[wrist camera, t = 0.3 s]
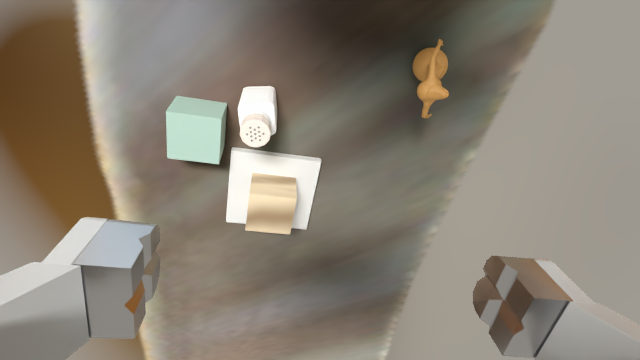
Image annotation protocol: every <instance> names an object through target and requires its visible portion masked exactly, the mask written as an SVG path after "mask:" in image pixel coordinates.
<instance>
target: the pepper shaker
mask: <svg viewBox="0 0 640 360" xmlns="http://www.w3.org/2000/svg"><path fill="white" fill-rule="evenodd" d="M238 116H239V124H240V136H241V139H242V141H243V142H244V143H246V144H247V145H248V146H251V147H260V146H264V145H265V144H266V143H267V142H268V141H269V140H270V136H272V135H273V134H275V133H276V128H277V102H276V90H275V89H274V87H271V86H259V87H246V88H243V92H242V95H241V99H240V102H239V106H238Z"/></svg>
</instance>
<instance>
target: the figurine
mask: <svg viewBox="0 0 640 360" xmlns="http://www.w3.org/2000/svg"><path fill="white" fill-rule="evenodd" d="M442 43H443V42H442V39H441V40H440V39H439V40H438V44H437V46H436V47H435V48H434V47H430V48H426V49H423V50H422V51H420V52H419V53H418V54H417V55H416V57H415V59H414V61H413V72H414V74H415V76H416V77H417V78H418V79H419V80H420V81H422V82H421V83H420V84H419V86H418V88H417V95H418V97H419V98H420V99H421V100H422V101H423V104H424V106H423V110H422V118H426V119H427V118H429V117H430V116H431V115H432V114H430V115H428V114H427V113H428V111H429V107H430V106H431V104H432V103H433V102H434V101H435V100H439V99H445V98H447V97H448V96H449V93H448V91H447V90H446V89H445V88H443V87H442V83H441V81H440V79H441V78H442V77H443V76H444V75H445V73H446V71H447V68H448V59H447V57H446V55H445V53H444V52H443V51H441V50H440V47H441V45H442V46H444V45H443V44H442Z"/></svg>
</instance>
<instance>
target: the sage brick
mask: <svg viewBox="0 0 640 360" xmlns="http://www.w3.org/2000/svg"><path fill="white" fill-rule="evenodd" d="M226 114H227V103H222V102H216V101H209V100H202V99H195V98H188V97H182V96H176V98H175V99H174V101H173V102H172V103H171V105H170V106H169V108H168V109H167V111H166V127H167V158H171V159H179V160H187V161H195V162H204V163H212V164H219V163H220V159H221V156H222V153H223V149H224V146H225V130H226Z"/></svg>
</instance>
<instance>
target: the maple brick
mask: <svg viewBox="0 0 640 360" xmlns="http://www.w3.org/2000/svg"><path fill="white" fill-rule="evenodd" d="M296 201H297V190H296V178H293V177H285V176H276V175H268V174H260V173H252V178H251V185H250V193H249V201H248V210H247V220H246V229H245V230H247V231H258V232H269V233H279V234H290V232H291V227H292V222H293V216H294V211H295V206H296Z"/></svg>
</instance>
